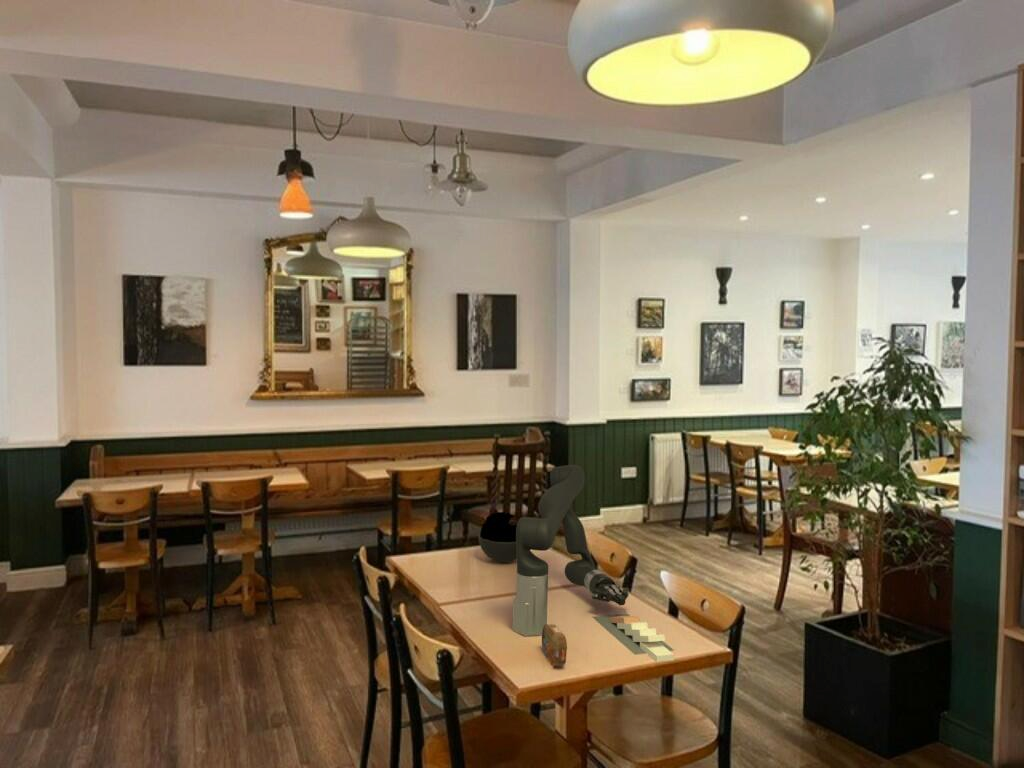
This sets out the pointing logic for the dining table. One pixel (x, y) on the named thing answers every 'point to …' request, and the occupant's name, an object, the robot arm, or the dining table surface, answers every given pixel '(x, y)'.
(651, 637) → the domino
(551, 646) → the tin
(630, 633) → the domino
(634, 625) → the domino
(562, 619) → the dining table surface
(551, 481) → the robot arm
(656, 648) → the domino
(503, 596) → the dining table surface
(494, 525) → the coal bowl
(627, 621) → the domino
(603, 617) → the mat
